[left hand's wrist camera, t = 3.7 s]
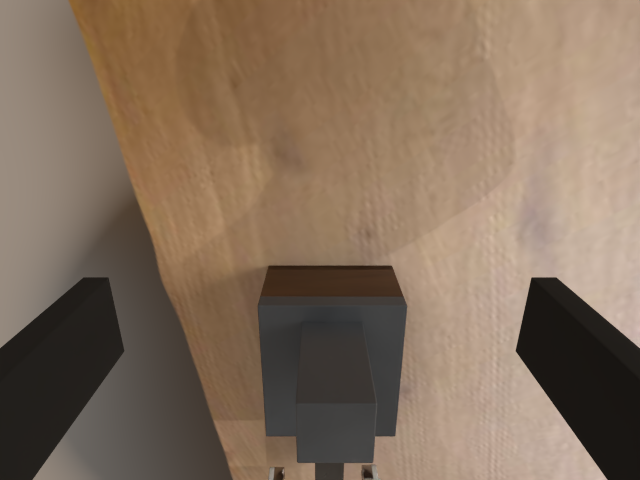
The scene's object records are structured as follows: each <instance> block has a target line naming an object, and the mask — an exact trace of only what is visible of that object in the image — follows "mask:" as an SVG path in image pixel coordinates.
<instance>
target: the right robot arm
mask: <svg viewBox="0 0 640 480" xmlns="http://www.w3.org/2000/svg"><path fill="white" fill-rule="evenodd" d="M361 476H362V480H380V479H378V473H377V467H376V465H362V471H361ZM268 480H285V472H284V467H270V470H269V479H268Z"/></svg>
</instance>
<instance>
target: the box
mask: <svg viewBox="0 0 640 480" xmlns="http://www.w3.org/2000/svg"><path fill="white" fill-rule="evenodd" d="M260 297H403V294H402V291H401V289H400V286H399V283H398V281H397V278H396V276H395V273H394V270H393V268H392V266H269V267H268V270H267V274H266V278H265V281H264V285H263V289H262V292H261V296H260ZM343 476H344V463H315V480H343Z"/></svg>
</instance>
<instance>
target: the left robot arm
mask: <svg viewBox="0 0 640 480" xmlns="http://www.w3.org/2000/svg"><path fill="white" fill-rule="evenodd" d="M123 352H124V347H123V343H122V338H121V334H120V329H119V324H118V320H117V315H116V310H115V306H114V301H113V297H112V292H111V287H110V283H109V278H83V279H81V280H80V281H79V282H78V283H77V284H76V285H74V286H73V287H72V288H71V289H70V290H68V291H67V292H66V293H65V294H64V295H63V296H61V297H60V298H59V299H58V300H57V301H56V302H54V303H53V304H52V305H51V306H50V307H48V308H47V309H46V310H45V311H44V312H43V313H41V314H40V315H39V316H38V317H37V318H35V319H34V320H33V321H32V322H31V323H30V324H28V325H27V326H26V327H25V328H24V329H22V330H21V331H20V332H19V333H18V334H17V335H15V336H14V337H13V338H12V339H11V340H10V341H8V342H7V343H6V344H5V345H4V346H2V347H1V348H0V480H33V478H34V477H35V475H36V474H37V473H38V471H39V470H40V468H41V467H42V466H43V464H44V463H45V461H46V460H47V459H48V457H49V456H50V454H51V453H52V452H53V450H54V449H55V447H56V446H57V444H58V443H59V442H60V440H61V439H62V438H63V436H64V435H65V433H66V432H67V431H68V429H69V428H70V426H71V425H72V423H73V422H74V421H75V419H76V418H77V417H78V415H79V414H80V412H81V411H82V409H83V408H84V407H85V405H86V404H87V402H88V401H89V400H90V398H91V397H92V396H93V394H94V393H95V391H96V390H97V389H98V387H99V386H100V384H101V383H102V382H103V380H104V379H105V377H106V376H107V375H108V373H109V372H110V370H111V369H112V368H113V366H114V365H115V363H116V362H117V361H118V359H119V358H120V356H121V355H122V354H123ZM516 352H517V354H518V355H519V356H520V358H521V359H522V361H523V362H524V363H525V365H526V366H527V368H528V369H529V370H530V372H531V373H532V375H533V376H534V377H535V379H536V380H537V382H538V383H539V384H540V386H541V387H542V389H543V390H544V391H545V393H546V394H547V396H548V397H549V398H550V400H551V401H552V403H553V404H554V405H555V407H556V408H557V410H558V411H559V412H560V414H561V415H562V417H563V418H564V419H565V421H566V422H567V424H568V425H569V426H570V428H571V429H572V431H573V432H574V433H575V435H576V436H577V438H578V439H579V440H580V442H581V443H582V445H583V446H584V447H585V449H586V450H587V452H588V453H589V454H590V456H591V457H592V459H593V460H594V461H595V463H596V464H597V466H598V467H599V468H600V470H601V471H602V473H603V474H604V475H605V477H606V478H607V480H640V348H639V347H638V346H636V345H635V344H634V343H633V342H632V341H631V340H629V339H628V338H627V337H626V336H625V335H623V334H622V333H621V332H620V331H619V330H618V329H616V328H615V327H614V326H613V325H612V324H610V323H609V322H608V321H607V320H606V319H605V318H603V317H602V316H601V315H600V314H599V313H597V312H596V311H595V310H594V309H593V308H592V307H590V306H589V305H588V304H587V303H586V302H585V301H583V300H582V299H581V298H580V297H579V296H577V295H576V294H575V293H574V292H573V291H572V290H570V289H569V288H568V287H567V286H566V285H564V284H563V283H562V282H561V281H560V280H559V279H557V278H531V283H530V287H529V292H528V297H527V301H526V306H525V310H524V315H523V320H522V324H521V329H520V334H519V338H518V343H517V347H516Z"/></svg>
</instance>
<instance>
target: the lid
mask: <svg viewBox="0 0 640 480" xmlns="http://www.w3.org/2000/svg"><path fill="white" fill-rule="evenodd" d="M406 313H407V304H406V302H405V299H404V297H260V300H259V303H258V317H259V333H260V348H261V363H262V378H263V394H264V409H265V424H266V436H296V439H297V462H298V463H373V458H374V443H375V436H395V433H396V422H397V411H398V400H399V389H400V378H401V367H402V357H403V346H404V335H405V324H406Z"/></svg>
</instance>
